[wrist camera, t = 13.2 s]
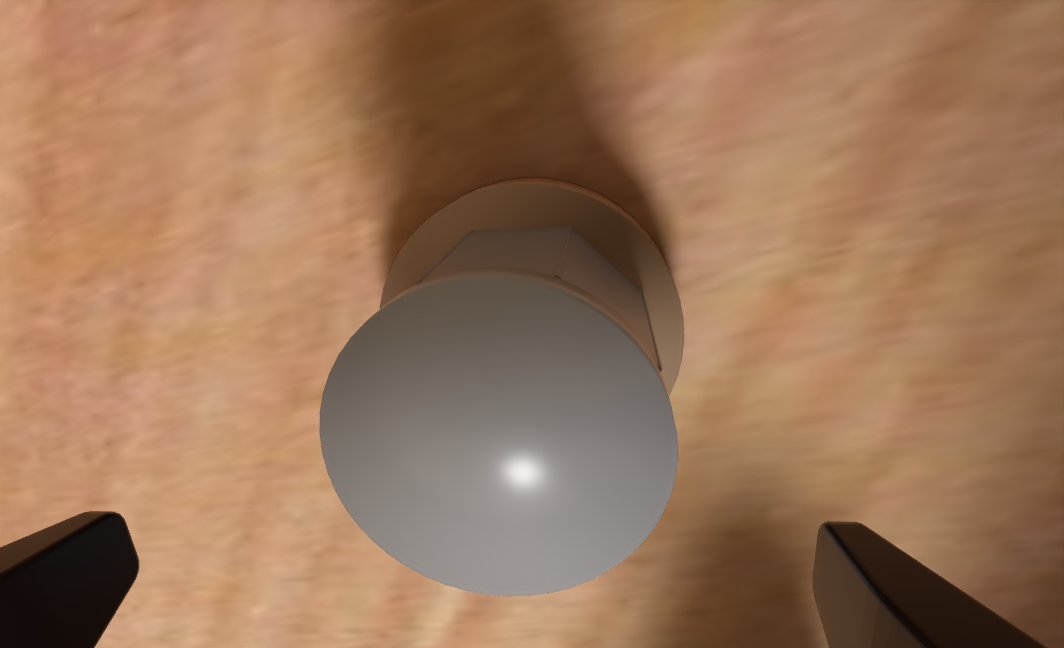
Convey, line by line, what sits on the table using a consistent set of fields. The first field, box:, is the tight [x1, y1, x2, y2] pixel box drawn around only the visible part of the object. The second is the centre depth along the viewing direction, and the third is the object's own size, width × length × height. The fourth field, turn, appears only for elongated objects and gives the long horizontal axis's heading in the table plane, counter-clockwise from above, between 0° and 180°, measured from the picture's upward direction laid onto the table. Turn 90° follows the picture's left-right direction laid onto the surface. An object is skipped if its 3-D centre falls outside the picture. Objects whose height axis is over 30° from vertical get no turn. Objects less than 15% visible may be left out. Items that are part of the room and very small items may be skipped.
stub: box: [380, 178, 684, 395], centre depth 14 cm, size 8×8×5 cm
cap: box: [320, 226, 678, 596], centre depth 12 cm, size 6×6×5 cm
